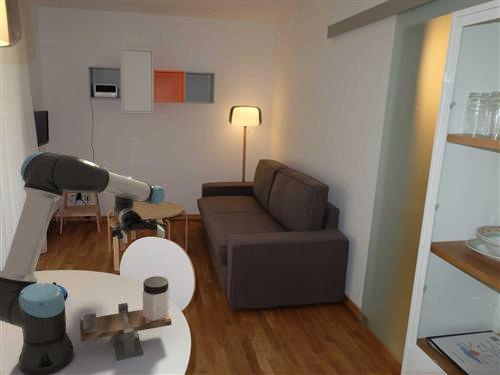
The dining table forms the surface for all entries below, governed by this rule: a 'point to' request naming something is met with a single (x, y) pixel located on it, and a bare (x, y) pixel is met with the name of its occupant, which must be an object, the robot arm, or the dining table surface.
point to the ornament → (62, 291)
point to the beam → (117, 324)
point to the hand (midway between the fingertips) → (145, 237)
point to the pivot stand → (127, 341)
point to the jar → (155, 298)
